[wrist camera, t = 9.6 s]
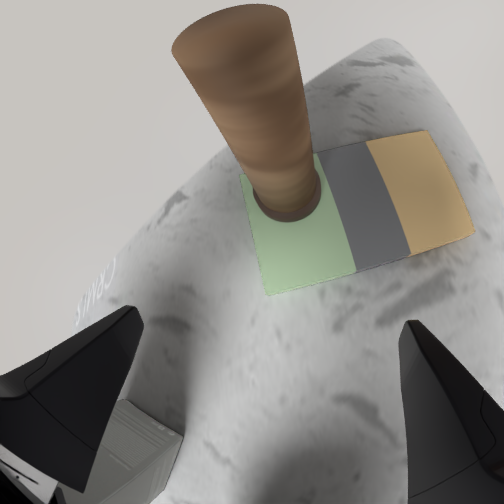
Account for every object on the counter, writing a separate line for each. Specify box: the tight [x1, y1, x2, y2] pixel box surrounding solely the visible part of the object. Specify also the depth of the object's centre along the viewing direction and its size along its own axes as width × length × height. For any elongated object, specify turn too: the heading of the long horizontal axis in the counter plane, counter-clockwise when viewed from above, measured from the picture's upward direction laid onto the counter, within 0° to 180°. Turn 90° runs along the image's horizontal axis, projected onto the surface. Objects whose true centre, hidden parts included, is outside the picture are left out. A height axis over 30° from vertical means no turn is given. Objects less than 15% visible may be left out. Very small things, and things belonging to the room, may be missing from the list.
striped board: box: [239, 130, 475, 296], centre depth 18 cm, size 16×9×1 cm, turn 102°
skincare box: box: [58, 399, 183, 504], centre depth 10 cm, size 8×7×16 cm
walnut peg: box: [172, 4, 321, 223], centre depth 13 cm, size 5×5×13 cm
